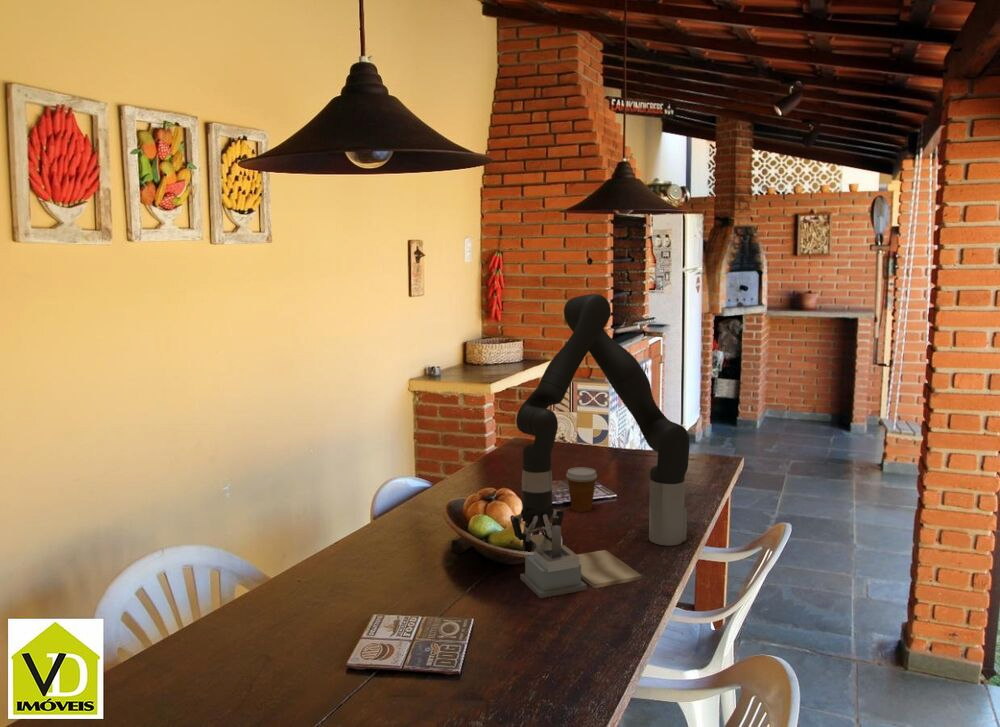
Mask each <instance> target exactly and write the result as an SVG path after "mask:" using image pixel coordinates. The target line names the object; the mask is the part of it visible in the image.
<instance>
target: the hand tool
mask: <svg viewBox="0 0 1000 727" xmlns="http://www.w3.org/2000/svg"><path fill="white" fill-rule="evenodd" d="M450 545H451V550H452V553H456V554H458V555H461V554H462V553H465V552H466V550H469V549H471V548H472V547H471V546H470V545H469V544H468V543H467V542H466V541H465V540H464V539H463V538H462V537H460V538H458V539H452V540H451V544H450Z"/></svg>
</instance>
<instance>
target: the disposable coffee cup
mask: <svg viewBox="0 0 1000 727" xmlns="http://www.w3.org/2000/svg"><path fill="white" fill-rule="evenodd" d="M565 477H566V479H567V483H568V484H567V485H568V490H569V500H570V506H571V507H570V508H571V510H572V511H574V512H580V513H583V512H586V513H587V512H589V511H592V508H593V501H594V494H595V485H596V479H597V477H598V474H597V471H596V470H595V469H594V468H591V467H582V466H581V467H579V466H578V467H572V468H569V469H567V472H566V474H565Z"/></svg>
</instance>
